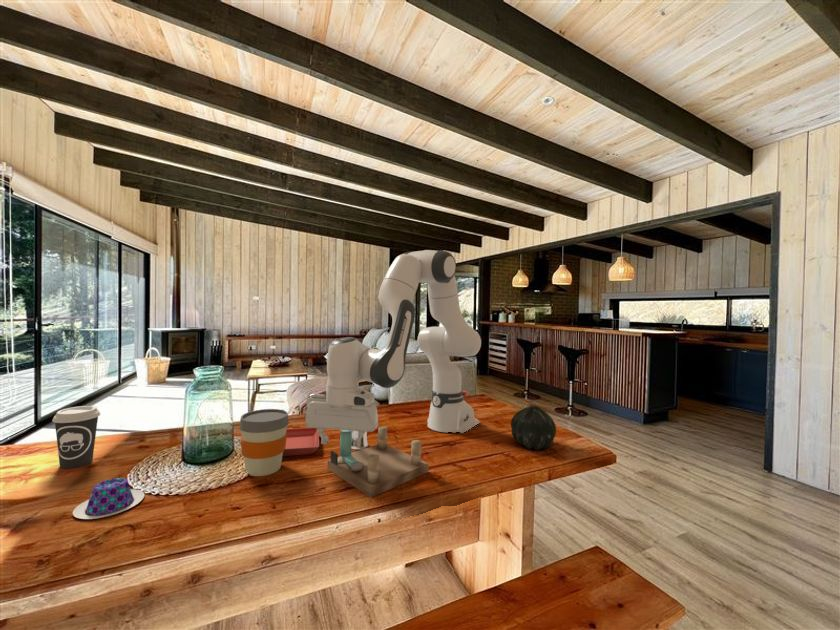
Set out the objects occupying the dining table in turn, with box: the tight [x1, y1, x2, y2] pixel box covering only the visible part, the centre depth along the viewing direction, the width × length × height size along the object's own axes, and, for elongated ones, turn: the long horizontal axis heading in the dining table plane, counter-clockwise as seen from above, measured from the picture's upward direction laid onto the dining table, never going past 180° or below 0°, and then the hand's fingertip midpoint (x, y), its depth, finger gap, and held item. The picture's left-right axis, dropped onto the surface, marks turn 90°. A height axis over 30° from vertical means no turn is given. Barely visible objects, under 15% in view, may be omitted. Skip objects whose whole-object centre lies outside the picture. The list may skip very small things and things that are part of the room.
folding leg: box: [339, 430, 363, 471], centre depth 97 cm, size 11×3×8 cm, turn 34°
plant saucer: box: [282, 427, 320, 457], centre depth 114 cm, size 18×18×3 cm
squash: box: [510, 405, 557, 451], centre depth 122 cm, size 14×15×15 cm
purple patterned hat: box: [72, 477, 145, 520], centre depth 79 cm, size 12×12×5 cm
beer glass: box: [351, 431, 369, 451], centre depth 116 cm, size 7×7×15 cm
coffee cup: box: [52, 405, 101, 470], centre depth 98 cm, size 10×10×15 cm
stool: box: [327, 425, 429, 498], centre depth 99 cm, size 20×20×8 cm
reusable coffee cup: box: [238, 408, 290, 477], centre depth 98 cm, size 13×12×15 cm
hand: (341, 444), depth 99 cm, fingers open, 8 cm apart
